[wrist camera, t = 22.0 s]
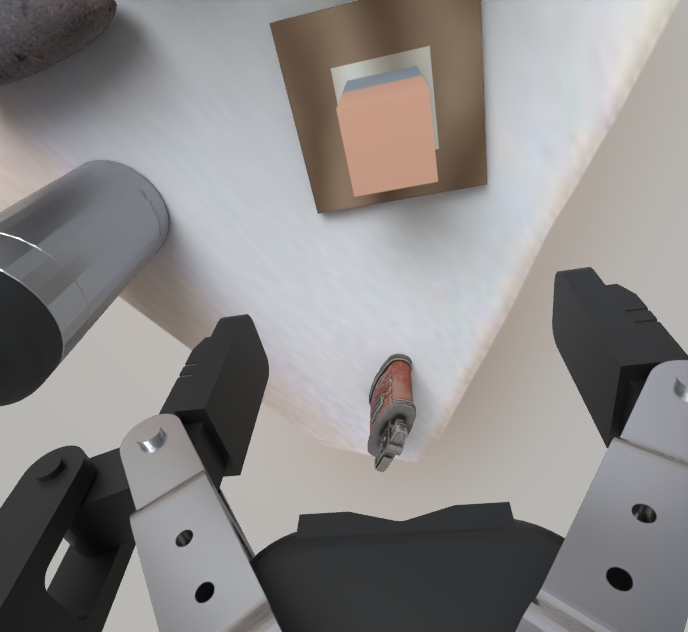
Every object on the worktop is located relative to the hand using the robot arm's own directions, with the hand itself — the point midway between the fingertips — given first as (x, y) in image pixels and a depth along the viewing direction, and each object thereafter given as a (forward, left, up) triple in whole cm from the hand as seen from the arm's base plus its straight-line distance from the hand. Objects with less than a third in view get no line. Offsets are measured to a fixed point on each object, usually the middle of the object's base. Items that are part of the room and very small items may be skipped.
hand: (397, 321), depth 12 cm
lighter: (-4, -28, -28) cm, 40 cm away
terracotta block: (0, 0, -22) cm, 22 cm away
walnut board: (0, 0, -28) cm, 28 cm away
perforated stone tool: (-24, +10, -28) cm, 39 cm away
